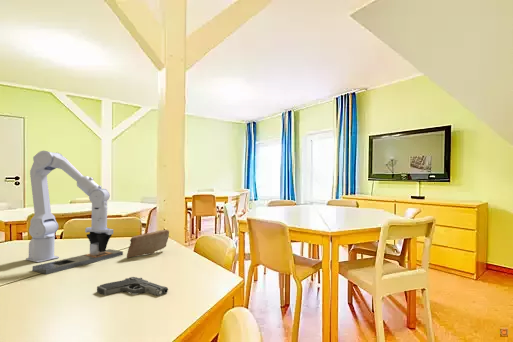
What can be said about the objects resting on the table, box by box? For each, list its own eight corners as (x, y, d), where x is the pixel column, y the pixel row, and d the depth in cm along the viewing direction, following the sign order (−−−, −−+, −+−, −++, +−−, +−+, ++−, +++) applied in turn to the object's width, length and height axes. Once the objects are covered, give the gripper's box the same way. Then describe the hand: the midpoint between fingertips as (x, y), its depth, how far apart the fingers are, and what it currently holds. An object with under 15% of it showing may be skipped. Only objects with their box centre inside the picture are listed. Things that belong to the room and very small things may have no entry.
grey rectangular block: (89, 258, 121) (89, 243, 121) (98, 256, 124) (98, 241, 124) (96, 259, 119) (96, 244, 119) (105, 257, 122) (105, 242, 123)
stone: (125, 258, 123) (128, 261, 120) (125, 236, 122) (129, 238, 119) (165, 247, 136) (169, 250, 134) (166, 227, 135) (170, 230, 132)
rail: (32, 270, 105) (32, 265, 105) (109, 252, 131) (109, 248, 131) (45, 274, 101) (46, 269, 101) (122, 254, 127) (122, 250, 127)
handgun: (130, 299, 75) (169, 285, 84) (96, 285, 85) (135, 273, 94) (130, 309, 74) (169, 293, 84) (96, 294, 84) (135, 281, 94)
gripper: (78, 218, 122) (78, 251, 122) (102, 220, 116) (102, 254, 115) (94, 216, 128) (93, 247, 128) (117, 218, 122) (117, 250, 122)
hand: (98, 250), depth 122 cm, fingers closed on grey rectangular block, 4 cm apart
